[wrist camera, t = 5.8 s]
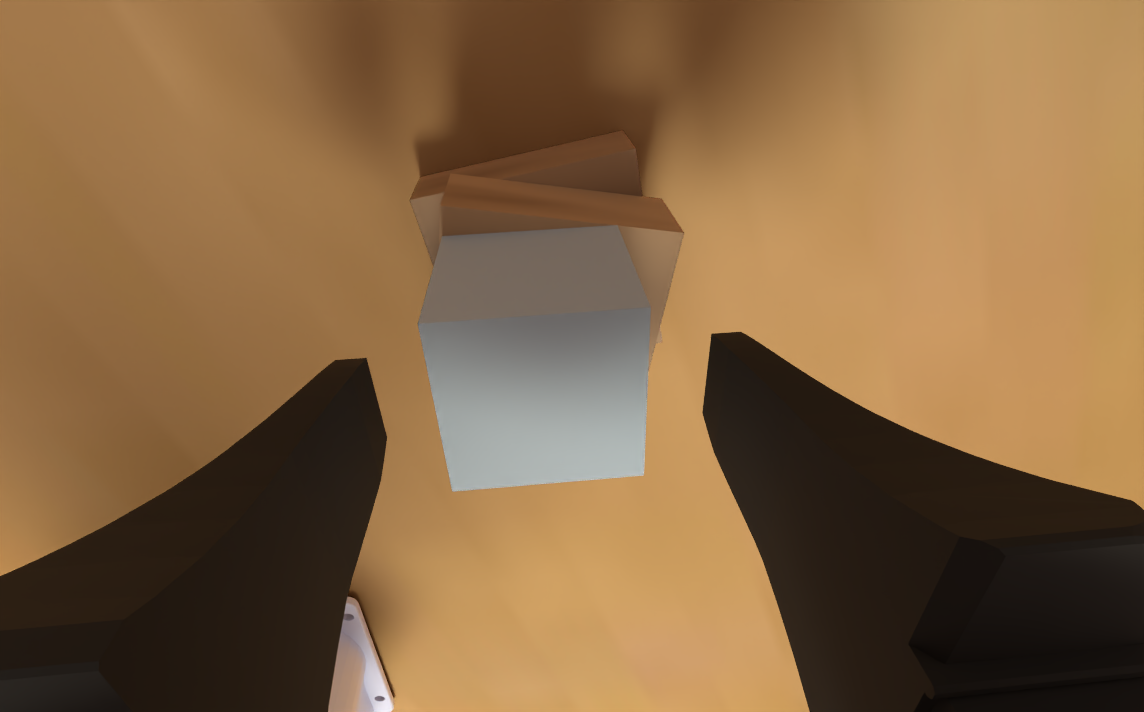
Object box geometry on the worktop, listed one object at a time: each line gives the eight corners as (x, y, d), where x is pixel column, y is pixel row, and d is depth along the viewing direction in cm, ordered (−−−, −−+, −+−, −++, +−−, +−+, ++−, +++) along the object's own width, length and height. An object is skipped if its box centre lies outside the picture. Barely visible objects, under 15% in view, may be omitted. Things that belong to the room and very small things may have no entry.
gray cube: (616, 368, 16) (643, 475, 12) (465, 380, 16) (452, 491, 12) (617, 224, 14) (650, 307, 10) (442, 236, 13) (417, 324, 10)
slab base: (647, 305, 21) (662, 342, 18) (479, 341, 21) (475, 382, 19) (620, 127, 17) (635, 148, 15) (422, 173, 17) (409, 200, 15)
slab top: (622, 370, 19) (636, 420, 17) (444, 356, 18) (434, 407, 16) (661, 198, 16) (684, 233, 14) (450, 173, 15) (440, 205, 13)
